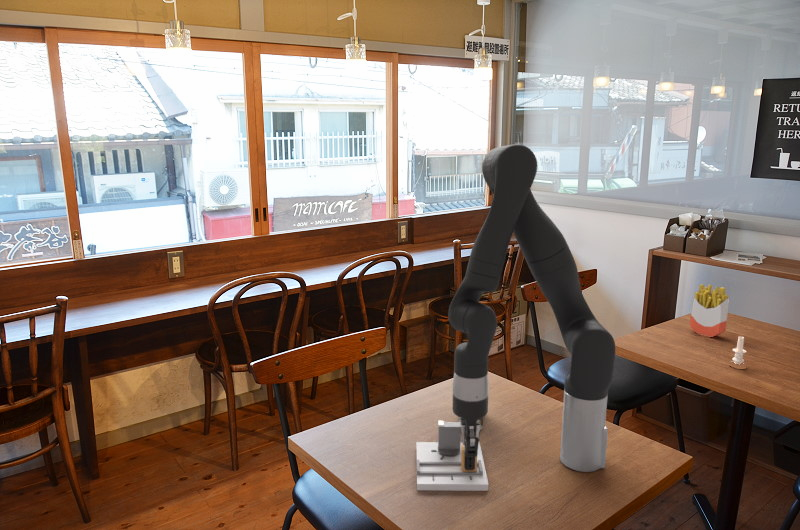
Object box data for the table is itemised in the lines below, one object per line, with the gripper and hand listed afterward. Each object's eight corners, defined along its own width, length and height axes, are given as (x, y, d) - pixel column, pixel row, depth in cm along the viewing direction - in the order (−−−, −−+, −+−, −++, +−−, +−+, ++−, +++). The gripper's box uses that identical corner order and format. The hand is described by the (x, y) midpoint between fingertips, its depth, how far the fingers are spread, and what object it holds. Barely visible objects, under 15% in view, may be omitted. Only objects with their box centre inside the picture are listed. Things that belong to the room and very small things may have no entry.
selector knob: (459, 444, 141) (459, 417, 140) (461, 456, 136) (461, 428, 135) (437, 444, 141) (437, 417, 140) (438, 456, 136) (438, 428, 135)
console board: (479, 448, 143) (479, 438, 142) (488, 490, 126) (488, 480, 126) (416, 447, 143) (416, 438, 143) (417, 490, 127) (417, 479, 126)
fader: (475, 465, 133) (476, 442, 131) (476, 471, 130) (477, 449, 129) (461, 465, 133) (461, 442, 132) (462, 471, 130) (462, 449, 129)
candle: (750, 369, 187) (754, 338, 184) (733, 369, 187) (737, 338, 184) (741, 363, 192) (745, 332, 189) (724, 363, 192) (728, 332, 190)
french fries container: (717, 340, 212) (723, 291, 208) (688, 331, 221) (693, 284, 216) (724, 337, 214) (730, 289, 210) (695, 329, 223) (701, 282, 219)
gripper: (492, 407, 120) (490, 483, 124) (484, 378, 134) (482, 448, 138) (455, 407, 121) (453, 483, 125) (450, 378, 134) (449, 448, 138)
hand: (468, 464), depth 131 cm, fingers closed on fader, 2 cm apart
